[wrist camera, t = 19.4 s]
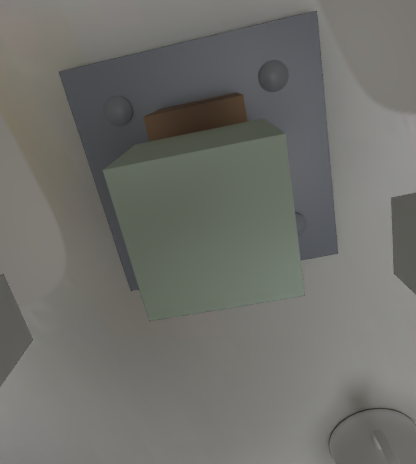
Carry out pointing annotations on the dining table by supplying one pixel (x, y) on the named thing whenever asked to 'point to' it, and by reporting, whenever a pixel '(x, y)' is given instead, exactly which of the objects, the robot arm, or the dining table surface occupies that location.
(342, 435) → the mug
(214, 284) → the sage brick
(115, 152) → the plate
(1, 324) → the robot arm
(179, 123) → the walnut brick
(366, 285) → the dining table surface
